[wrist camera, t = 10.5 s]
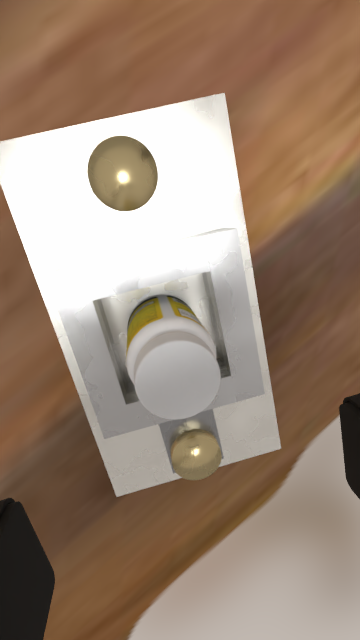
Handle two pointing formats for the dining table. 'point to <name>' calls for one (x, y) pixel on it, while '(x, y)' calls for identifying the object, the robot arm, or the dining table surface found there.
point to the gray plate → (146, 276)
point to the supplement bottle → (171, 358)
